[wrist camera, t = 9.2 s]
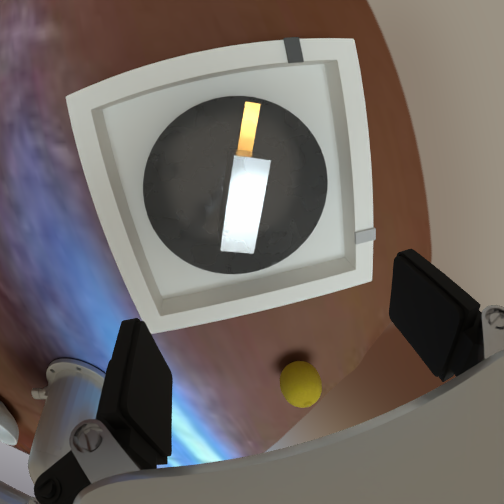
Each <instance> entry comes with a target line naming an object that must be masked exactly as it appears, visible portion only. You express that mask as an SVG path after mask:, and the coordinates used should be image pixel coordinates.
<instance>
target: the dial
mask: <svg viewBox="0 0 504 504" xmlns="http://www.w3.org/2000/svg"><path fill="white" fill-rule="evenodd" d="M327 186H328V178H327V168H326V164H325V159H324V156H323V154H322V151H321V148H320V146H319V144H318V142H317V141H316V139H315V137H314V136H313V134H312V133H311V131H310V130H309V129H308V127H307V126H306V125H305V124H304V123H303V122H302V121H301V120H300V119H299V118H298V117H296V116H295V115H294V114H292V113H291V112H290V111H288V110H286V109H285V108H283V107H281V106H279V105H277V104H275V103H272V102H270V101H267V100H264V99H260V98H256V97H249V96H226V97H220V98H215V99H212V100H208V101H205V102H202V103H200V104H198V105H196V106H194V107H192V108H190V109H188V110H187V111H185V112H184V113H182V114H181V115H179V116H178V117H177V118H176V119H175V120H174V121H172V122H171V123H170V124H169V125H168V126H167V127H166V129H165V130H164V131H163V132H162V133H161V135H160V136H159V138H158V139H157V141H156V142H155V144H154V146H153V148H152V150H151V152H150V154H149V157H148V160H147V163H146V167H145V171H144V178H143V198H144V205H145V209H146V212H147V216H148V218H149V221H150V223H151V225H152V227H153V229H154V231H155V232H156V234H157V236H158V237H159V238H160V240H161V241H162V242H163V243H164V245H165V246H166V247H167V248H168V249H169V250H170V251H172V252H173V253H174V254H175V255H176V256H178V257H179V258H181V259H182V260H183V261H185V262H187V263H189V264H191V265H193V266H195V267H198V268H200V269H203V270H206V271H210V272H214V273H221V274H244V273H250V272H255V271H259V270H262V269H265V268H268V267H270V266H272V265H275V264H277V263H279V262H280V261H282V260H284V259H285V258H287V257H288V256H290V255H291V254H292V253H293V252H295V251H296V250H297V249H298V248H299V247H300V246H301V245H302V244H303V243H304V242H305V241H306V240H307V238H308V237H309V236H310V235H311V233H312V232H313V230H314V228H315V227H316V225H317V223H318V221H319V219H320V217H321V215H322V212H323V209H324V206H325V202H326V196H327Z"/></svg>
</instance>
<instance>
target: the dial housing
mask: <svg viewBox="0 0 504 504" xmlns="http://www.w3.org/2000/svg"><path fill="white" fill-rule="evenodd" d="M226 96H249V97H256V98H260V99H264V100H267V101H270V102H272V103H275V104H277V105H279V106H281V107H283V108H285V109H286V110H288V111H290V112H291V113H292V114H294V115H295V116H296V117H298V118H299V119H300V120H301V121H302V122H303V123H304V124H305V125H306V126H307V127H308V129H309V130H310V131H311V133H312V134H313V136H314V137H315V139H316V141H317V142H318V144H319V146H320V148H321V151H322V154H323V156H324V159H325V164H326V168H327V178H328V186H327V196H326V202H325V206H324V209H323V212H322V215H321V217H320V219H319V221H318V223H317V225H316V227H315V228H314V230H313V232H312V233H311V235H310V236H309V237H308V238H307V240H306V241H305V242H304V243H303V244H302V245H301V246H300V247H299V248H298V249H297V250H296V251H295V252H293V253H292V254H291V255H290V256H288V257H287V258H285V259H284V260H282V261H280V262H279V263H277V264H275V265H272V266H270V267H268V268H265V269H262V270H259V271H255V272H250V273H244V274H221V273H214V272H210V271H206V270H203V269H200V268H198V267H195V266H193V265H191V264H189V263H187V262H185V261H183V260H182V259H181V258H179V257H178V256H176V255H175V254H174V253H173V252H172V251H170V250H169V249H168V248H167V247H166V246H165V245H164V243H163V242H162V241H161V240H160V238H159V237H158V236H157V234H156V232H155V231H154V229H153V227H152V225H151V223H150V221H149V218H148V216H147V212H146V209H145V205H144V198H143V178H144V171H145V167H146V163H147V160H148V157H149V154H150V152H151V150H152V148H153V146H154V144H155V142H156V141H157V139H158V138H159V136H160V135H161V133H162V132H163V131H164V130H165V129H166V127H167V126H168V125H169V124H170V123H171V122H172V121H174V120H175V119H176V118H177V117H178V116H179V115H181V114H182V113H184V112H185V111H187V110H188V109H190V108H192V107H194V106H196V105H198V104H200V103H202V102H205V101H208V100H212V99H215V98H220V97H226ZM66 101H67V106H68V111H69V116H70V120H71V125H72V129H73V133H74V137H75V141H76V145H77V149H78V153H79V156H80V160H81V164H82V167H83V171H84V174H85V177H86V181H87V184H88V187H89V190H90V193H91V196H92V199H93V202H94V205H95V208H96V211H97V214H98V217H99V220H100V222H101V225H102V228H103V231H104V233H105V236H106V239H107V241H108V244H109V246H110V249H111V251H112V254H113V256H114V259H115V261H116V264H117V266H118V268H119V271H120V273H121V275H122V278H123V280H124V282H125V284H126V287H127V289H128V291H129V293H130V295H131V298H132V300H133V302H134V304H135V306H136V308H137V310H138V312H139V314H140V317H141V319H142V321H144V322H145V323H146V325H147V327H148V329H149V331H150V333H151V334H154V333H159V332H165V331H170V330H175V329H180V328H186V327H191V326H195V325H200V324H205V323H210V322H214V321H219V320H224V319H228V318H233V317H237V316H241V315H246V314H250V313H254V312H259V311H263V310H267V309H271V308H275V307H279V306H283V305H287V304H291V303H295V302H299V301H302V300H306V299H310V298H314V297H317V296H321V295H325V294H328V293H332V292H336V291H339V290H343V289H346V288H350V287H353V286H356V285H360V284H363V283H366V282H370V281H372V268H373V240H376V228H374V227H373V191H372V171H371V156H370V143H369V133H368V123H367V115H366V107H365V99H364V92H363V85H362V79H361V73H360V67H359V62H358V56H357V51H356V46H355V41H354V39H342V38H312V39H299V37H291V38H284V39H283V40H276V41H265V42H256V43H248V44H241V45H234V46H228V47H222V48H216V49H211V50H206V51H201V52H196V53H192V54H187V55H183V56H179V57H175V58H171V59H167V60H163V61H160V62H156V63H153V64H150V65H146V66H143V67H140V68H137V69H134V70H131V71H128V72H125V73H122V74H119V75H116V76H114V77H111V78H108V79H106V80H103V81H101V82H98V83H96V84H93V85H91V86H88V87H86V88H84V89H81V90H79V91H77V92H75V93H72V94H70V95H68V96H66Z"/></svg>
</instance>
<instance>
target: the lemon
mask: <svg viewBox="0 0 504 504" xmlns="http://www.w3.org/2000/svg"><path fill="white" fill-rule="evenodd" d="M280 388H281V391H282V393H283V395H284V397H285V399H286V400H287V401H288V402H289V403H290V404H292V405H293V406H296V407H310V406H311V405H312V404H314V403H315V402H316V401H317V400H318V399H319V397H320V395H321V391H322V385H321V378H320V376H319V374H318V372H317V370H316V369H315V368H314V367H313V366H312V365H311V364H309V363H307V362H304V361H295V362H292V363H290V364H288V365H287V366H286V367H285V368H284V369H283V371H282V373H281V376H280Z"/></svg>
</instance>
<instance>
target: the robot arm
mask: <svg viewBox="0 0 504 504" xmlns="http://www.w3.org/2000/svg"><path fill="white" fill-rule="evenodd" d="M479 308H480V304H479V303H478V302H477V301H476V300H475V299H473V298H472V297H471V296H470V295H469V294H468V293H466V292H465V291H464V290H463V289H461V287H459V286H458V285H457V284H456V283H455V282H453V281H452V280H451V279H450V278H449V277H447V276H446V275H445V274H444V273H442V272H441V271H440V270H439V269H437V268H436V267H435V266H434V265H432V264H431V263H430V262H429V261H427V260H426V259H425V258H424V257H422V256H421V255H420V254H418V253H417V252H416V251H414V250H413V249H408V250H405V251H402V252H399V253H398V254H397V257H395V259H394V265H393V278H392V289H391V299H390V308H389V316H390V319H391V321H392V322H393V323H394V325H395V326H396V327H397V328H398V329H399V331H401V333H402V334H403V336H404V337H405V338H406V339H407V341H408V342H409V343H410V344H411V346H412V347H413V348H414V350H415V351H416V352H417V353H418V355H419V356H420V357H421V358H422V360H423V361H424V363H425V364H426V365H427V366H428V368H429V369H430V370H431V372H432V373H433V374H434V375H435V376H437V377H438V376H439V378H440V379H441V380H442V382H444V381H446V380H447V379H449V378H451V377H452V376H453V375H454V374H455V376H456V377H455V378H454V379H452V380H450V381H448V382H447V383H445V384H443V385H441V386H439V387H438V388H436V389H434V390H432V391H430V392H428V393H427V394H425V395H423V396H421V397H419V398H417V399H415V400H413V401H411V402H409V403H407V404H405V405H402V406H400V407H398V408H396V409H394V410H392V411H389V412H387V413H385V414H383V415H380V416H378V417H376V418H373V419H371V420H368V421H366V422H363V423H361V424H358V425H355V426H353V427H350V428H347V429H345V430H342V431H339V432H336V433H333V434H330V435H327V436H324V437H321V438H318V439H315V440H311V441H308V442H304V443H301V444H297V445H294V446H290V447H287V448H283V449H278V450H274V451H270V452H266V453H261V454H257V455H252V456H247V457H242V458H236V459H230V460H224V461H218V462H211V463H204V464H197V465H188V466H179V467H167V468H158V469H156V468H157V465H161V464H167V456H171V452H172V445H171V423H172V374H171V371H170V369H169V367H168V365H167V363H166V362H165V360H164V358H163V356H162V354H161V352H160V350H159V349H158V347H157V345H156V343H155V341H154V339H153V337H152V335H151V333H150V331H149V329H148V327H147V325H146V323H145V322H144V321H140V320H139V319H138V318H134V319H129V320H124V321H122V323H121V326H120V330H119V333H118V337H117V340H116V344H115V347H114V351H113V355H112V358H111V360H110V361H109V364H108V367H107V371H106V374H104V373H103V372H102V371H100V370H99V369H97V368H95V367H93V366H91V365H90V364H87V363H84V362H82V361H78V360H74V359H57V360H55V361H53V362H51V363H50V365H49V367H48V369H47V372H46V377H47V380H48V383H49V384H48V386H46V387H44V388H43V389H42V388H33V389H32V396H33V398H34V399H46V402H45V405H44V408H43V411H42V414H41V417H40V420H39V423H38V427H37V430H36V433H35V437H34V441H33V444H32V448H31V452H30V456H29V460H28V469H29V473H30V477H31V479H32V481H33V483H34V485H35V486H34V494H35V497H36V498H34V497H31V496H29V495H27V494H25V493H23V492H21V491H19V490H16V489H15V488H13V487H11V486H9V485H7V484H5V483H4V482H2V481H0V504H504V307H502V306H498V305H491V306H487V307H486V308H485V309H484V310H483V311H482V312H480V311H479Z"/></svg>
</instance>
